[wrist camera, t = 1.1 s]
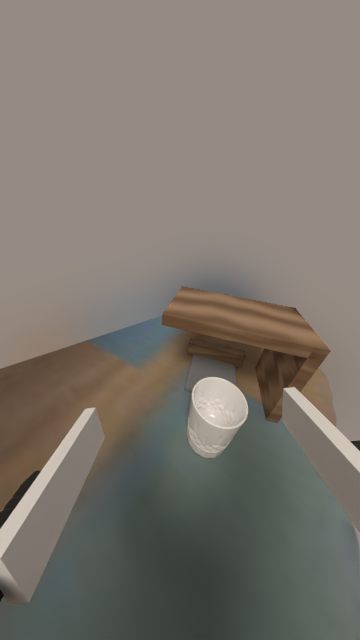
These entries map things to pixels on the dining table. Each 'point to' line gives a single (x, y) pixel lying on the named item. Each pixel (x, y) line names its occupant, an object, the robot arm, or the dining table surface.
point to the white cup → (215, 415)
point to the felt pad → (208, 371)
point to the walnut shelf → (251, 339)
